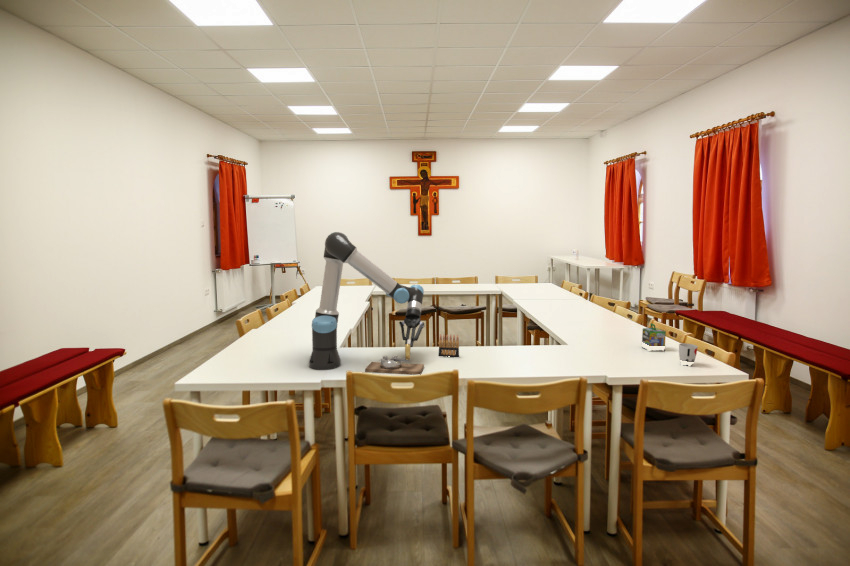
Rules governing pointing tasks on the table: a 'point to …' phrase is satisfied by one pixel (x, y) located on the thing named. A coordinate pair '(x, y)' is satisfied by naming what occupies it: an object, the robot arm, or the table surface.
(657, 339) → the lunch box
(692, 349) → the cup
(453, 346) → the ammunition clip
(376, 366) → the base plate
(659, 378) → the table surface
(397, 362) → the silver teapot
